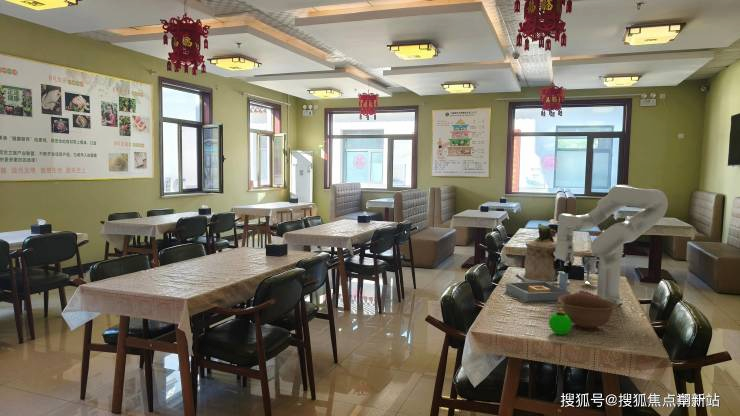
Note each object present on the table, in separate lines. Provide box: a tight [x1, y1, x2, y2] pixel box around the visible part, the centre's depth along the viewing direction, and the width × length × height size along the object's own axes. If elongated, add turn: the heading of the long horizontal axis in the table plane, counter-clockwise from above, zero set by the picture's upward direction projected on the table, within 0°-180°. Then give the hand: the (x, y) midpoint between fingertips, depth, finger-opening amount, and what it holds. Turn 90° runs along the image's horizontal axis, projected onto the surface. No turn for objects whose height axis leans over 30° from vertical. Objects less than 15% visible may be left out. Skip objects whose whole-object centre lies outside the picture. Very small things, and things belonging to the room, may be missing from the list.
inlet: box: [528, 286, 550, 293], centre depth 249 cm, size 8×8×2 cm
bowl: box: [558, 293, 619, 332], centre depth 197 cm, size 22×22×11 cm
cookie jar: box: [515, 222, 571, 285], centre depth 284 cm, size 25×25×32 cm
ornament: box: [548, 307, 573, 336], centre depth 188 cm, size 8×8×10 cm
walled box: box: [505, 281, 571, 304], centre depth 246 cm, size 22×22×4 cm
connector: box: [558, 271, 569, 291], centre depth 255 cm, size 4×4×10 cm
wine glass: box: [580, 254, 598, 285], centre depth 278 cm, size 8×8×15 cm
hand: (562, 271), depth 255 cm, fingers open, 9 cm apart
